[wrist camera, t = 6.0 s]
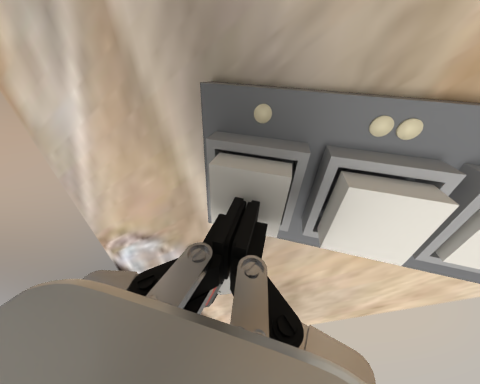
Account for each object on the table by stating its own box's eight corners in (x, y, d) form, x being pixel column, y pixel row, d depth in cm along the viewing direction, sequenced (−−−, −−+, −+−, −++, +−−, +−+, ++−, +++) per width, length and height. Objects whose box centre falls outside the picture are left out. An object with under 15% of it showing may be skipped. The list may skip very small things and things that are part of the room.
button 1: (219, 152, 12) (208, 163, 11) (292, 163, 12) (292, 177, 10) (220, 207, 15) (211, 223, 14) (278, 219, 14) (276, 238, 13)
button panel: (211, 81, 14) (185, 83, 10) (657, 117, 9) (848, 139, 6) (215, 211, 21) (200, 236, 18) (467, 264, 17) (508, 310, 13)
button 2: (341, 170, 11) (349, 187, 10) (433, 184, 10) (459, 205, 9) (317, 227, 14) (320, 247, 12) (388, 242, 13) (401, 266, 11)
